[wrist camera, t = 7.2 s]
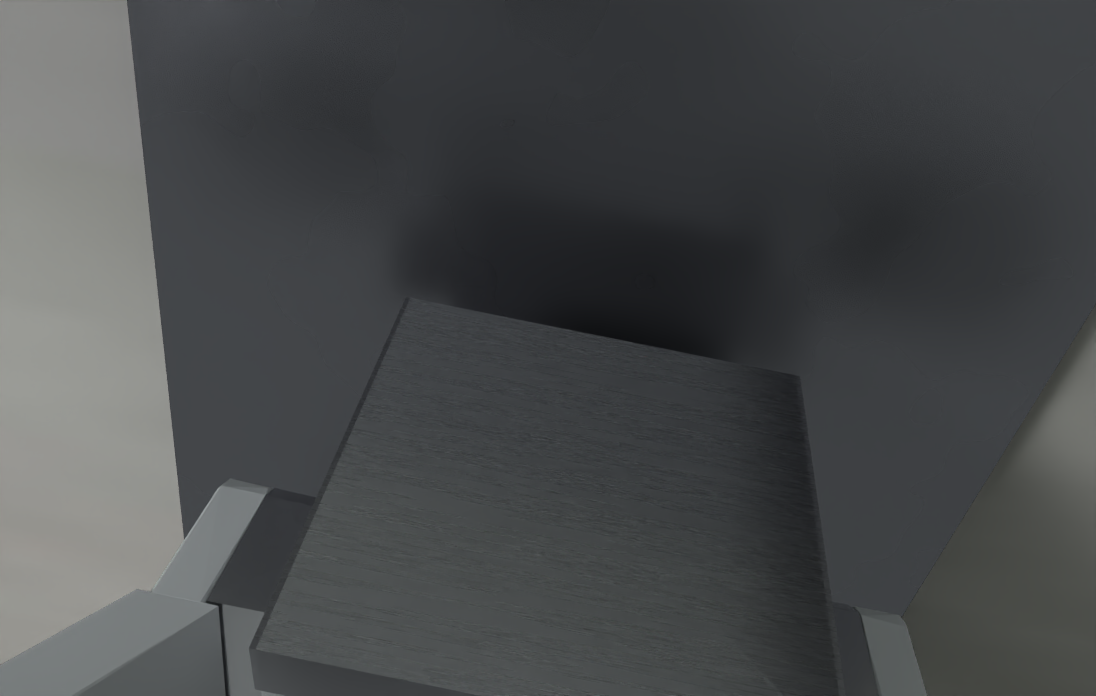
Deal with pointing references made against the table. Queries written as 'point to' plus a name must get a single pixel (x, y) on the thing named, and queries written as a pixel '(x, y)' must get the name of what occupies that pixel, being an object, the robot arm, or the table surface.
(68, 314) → the table surface
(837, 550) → the rail
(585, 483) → the orange-striped grey block
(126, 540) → the table surface
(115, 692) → the robot arm
